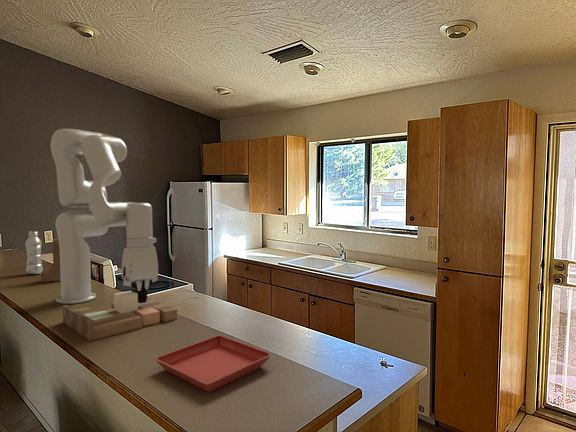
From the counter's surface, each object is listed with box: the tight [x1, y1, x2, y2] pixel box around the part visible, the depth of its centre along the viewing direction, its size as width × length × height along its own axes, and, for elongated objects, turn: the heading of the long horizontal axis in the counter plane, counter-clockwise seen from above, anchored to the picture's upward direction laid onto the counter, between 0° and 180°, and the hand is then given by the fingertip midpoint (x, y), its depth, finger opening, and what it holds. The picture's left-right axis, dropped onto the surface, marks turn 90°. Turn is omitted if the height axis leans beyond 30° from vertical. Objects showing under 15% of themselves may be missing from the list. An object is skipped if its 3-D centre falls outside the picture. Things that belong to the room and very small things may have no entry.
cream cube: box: [113, 290, 138, 314], centre depth 119 cm, size 5×5×5 cm
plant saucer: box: [155, 335, 272, 393], centre depth 86 cm, size 18×18×3 cm
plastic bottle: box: [24, 231, 44, 275], centre depth 186 cm, size 6×7×20 cm
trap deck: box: [61, 297, 178, 341], centre depth 119 cm, size 21×25×5 cm
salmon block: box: [136, 308, 161, 327], centre depth 118 cm, size 5×5×4 cm
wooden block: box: [40, 238, 61, 283], centre depth 173 cm, size 9×4×18 cm, turn 116°
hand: (141, 302), depth 123 cm, fingers closed
